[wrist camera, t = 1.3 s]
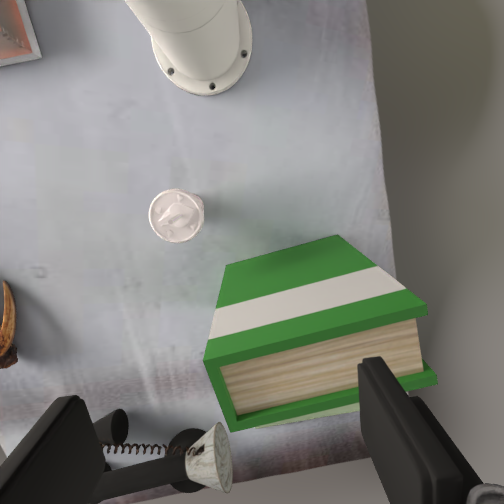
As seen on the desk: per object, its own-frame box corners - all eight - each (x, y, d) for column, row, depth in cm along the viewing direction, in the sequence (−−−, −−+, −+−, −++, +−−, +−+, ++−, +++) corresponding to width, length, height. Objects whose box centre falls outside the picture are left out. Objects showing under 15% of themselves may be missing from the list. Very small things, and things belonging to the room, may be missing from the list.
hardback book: (337, 234, 46) (426, 304, 23) (347, 278, 48) (437, 383, 25) (226, 265, 47) (202, 360, 24) (239, 307, 49) (230, 432, 26)
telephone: (223, 385, 60) (80, 422, 61) (204, 384, 48) (29, 430, 50) (239, 478, 53) (78, 517, 54) (222, 502, 42) (18, 552, 43)
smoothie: (219, 218, 45) (207, 240, 32) (181, 234, 46) (152, 262, 32) (201, 177, 43) (180, 182, 30) (161, 194, 44) (122, 207, 31)
